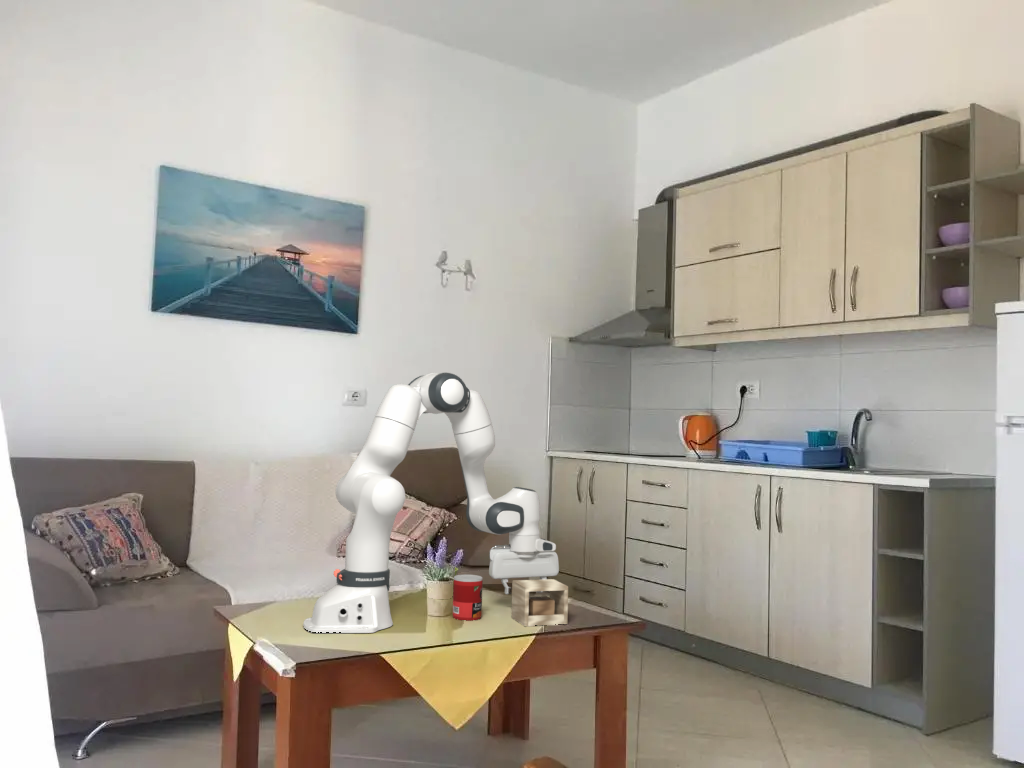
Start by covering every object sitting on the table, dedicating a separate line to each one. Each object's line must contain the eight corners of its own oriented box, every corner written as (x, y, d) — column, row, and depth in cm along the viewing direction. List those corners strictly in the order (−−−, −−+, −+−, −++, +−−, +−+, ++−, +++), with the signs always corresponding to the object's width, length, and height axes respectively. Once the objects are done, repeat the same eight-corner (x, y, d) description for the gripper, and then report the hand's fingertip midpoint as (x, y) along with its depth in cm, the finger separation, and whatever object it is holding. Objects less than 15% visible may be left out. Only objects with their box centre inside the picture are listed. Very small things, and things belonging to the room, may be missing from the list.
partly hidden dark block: (532, 624, 225) (533, 601, 225) (509, 609, 244) (510, 587, 244) (554, 623, 227) (554, 600, 227) (529, 608, 245) (530, 587, 246)
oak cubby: (524, 626, 222) (525, 587, 223) (511, 617, 233) (512, 580, 233) (567, 624, 226) (568, 586, 227) (552, 615, 236) (553, 579, 237)
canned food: (477, 622, 226) (479, 580, 227) (448, 619, 228) (450, 578, 229) (484, 616, 234) (485, 575, 234) (456, 614, 235) (457, 573, 236)
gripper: (492, 547, 238) (492, 597, 237) (561, 544, 244) (560, 593, 243) (486, 543, 244) (485, 592, 243) (553, 541, 250) (552, 589, 249)
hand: (523, 593), depth 243 cm, fingers open, 8 cm apart
